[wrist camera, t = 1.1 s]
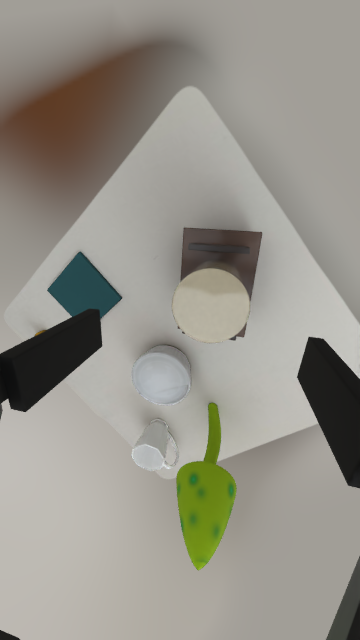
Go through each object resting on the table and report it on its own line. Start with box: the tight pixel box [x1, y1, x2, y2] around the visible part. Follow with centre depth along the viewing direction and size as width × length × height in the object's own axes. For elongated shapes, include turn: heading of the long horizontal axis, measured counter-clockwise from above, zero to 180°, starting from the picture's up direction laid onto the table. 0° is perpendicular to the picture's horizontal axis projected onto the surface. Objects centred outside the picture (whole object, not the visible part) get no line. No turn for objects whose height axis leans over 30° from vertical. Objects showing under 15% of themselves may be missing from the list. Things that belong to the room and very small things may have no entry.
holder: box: [178, 228, 262, 340], centre depth 31 cm, size 13×9×15 cm
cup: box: [131, 419, 179, 471], centre depth 48 cm, size 7×10×8 cm
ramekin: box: [132, 345, 191, 405], centre depth 43 cm, size 11×11×5 cm
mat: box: [47, 252, 122, 319], centre depth 44 cm, size 11×11×1 cm
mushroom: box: [177, 403, 236, 570], centre depth 35 cm, size 8×8×25 cm
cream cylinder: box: [172, 258, 250, 343], centre depth 24 cm, size 7×7×10 cm
